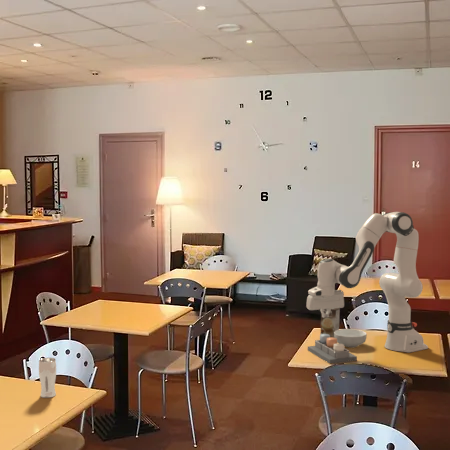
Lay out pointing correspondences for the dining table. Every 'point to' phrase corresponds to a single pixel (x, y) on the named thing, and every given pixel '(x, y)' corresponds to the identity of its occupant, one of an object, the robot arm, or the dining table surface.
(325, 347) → the grey slotted rack
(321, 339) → the key slate
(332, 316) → the coffee box
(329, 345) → the key terracotta
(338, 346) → the key ivory
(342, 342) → the cereal bowl
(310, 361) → the dining table surface
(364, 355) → the dining table surface
